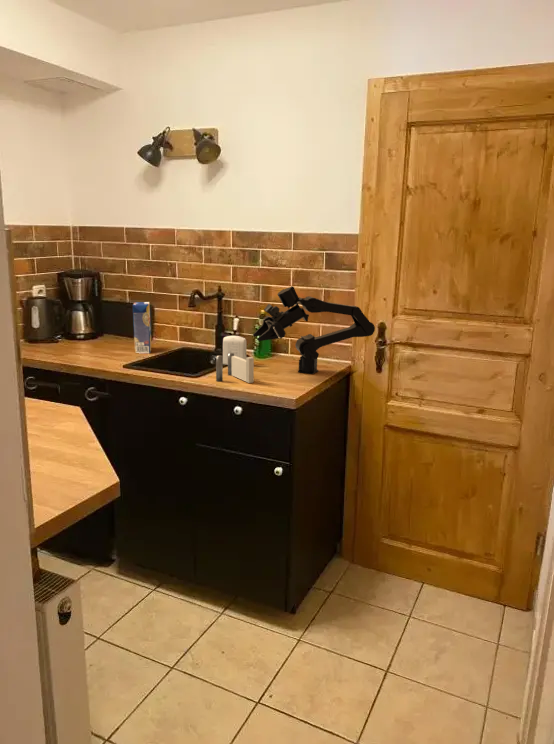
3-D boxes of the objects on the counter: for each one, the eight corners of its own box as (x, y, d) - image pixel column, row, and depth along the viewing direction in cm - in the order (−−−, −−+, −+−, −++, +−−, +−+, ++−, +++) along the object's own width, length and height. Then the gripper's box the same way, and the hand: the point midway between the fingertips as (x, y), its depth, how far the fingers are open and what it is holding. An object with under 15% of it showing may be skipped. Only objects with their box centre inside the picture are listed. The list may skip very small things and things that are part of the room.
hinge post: (235, 374, 223) (235, 353, 221) (231, 375, 221) (231, 354, 219) (229, 373, 224) (229, 352, 222) (226, 374, 222) (226, 353, 220)
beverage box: (151, 348, 269) (149, 302, 264) (150, 353, 259) (148, 305, 254) (136, 348, 268) (134, 302, 263) (134, 353, 258) (132, 305, 253)
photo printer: (247, 364, 239) (248, 335, 236) (244, 367, 235) (244, 337, 232) (225, 362, 242) (225, 334, 239) (221, 364, 238) (221, 335, 235)
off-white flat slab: (231, 375, 220) (231, 352, 218) (235, 374, 221) (235, 351, 219) (248, 383, 209) (248, 358, 207) (253, 382, 210) (253, 358, 208)
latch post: (223, 380, 213) (223, 355, 211) (220, 381, 211) (220, 356, 209) (218, 379, 214) (218, 355, 212) (214, 381, 212) (214, 356, 210)
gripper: (274, 296, 228) (241, 316, 227) (285, 302, 210) (249, 323, 209) (287, 320, 231) (254, 340, 230) (299, 327, 214) (264, 349, 212)
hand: (255, 337), depth 220 cm, fingers open, 9 cm apart
